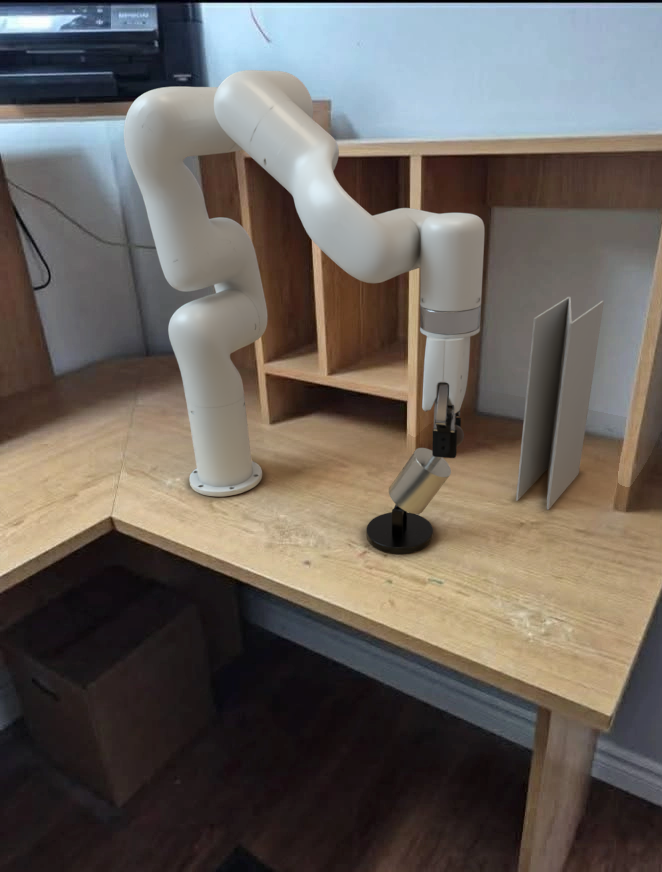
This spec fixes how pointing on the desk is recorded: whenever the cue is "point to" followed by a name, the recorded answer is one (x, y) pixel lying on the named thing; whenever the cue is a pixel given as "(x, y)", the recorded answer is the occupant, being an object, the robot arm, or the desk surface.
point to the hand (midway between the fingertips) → (446, 448)
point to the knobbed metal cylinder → (420, 479)
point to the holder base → (399, 532)
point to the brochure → (557, 397)
